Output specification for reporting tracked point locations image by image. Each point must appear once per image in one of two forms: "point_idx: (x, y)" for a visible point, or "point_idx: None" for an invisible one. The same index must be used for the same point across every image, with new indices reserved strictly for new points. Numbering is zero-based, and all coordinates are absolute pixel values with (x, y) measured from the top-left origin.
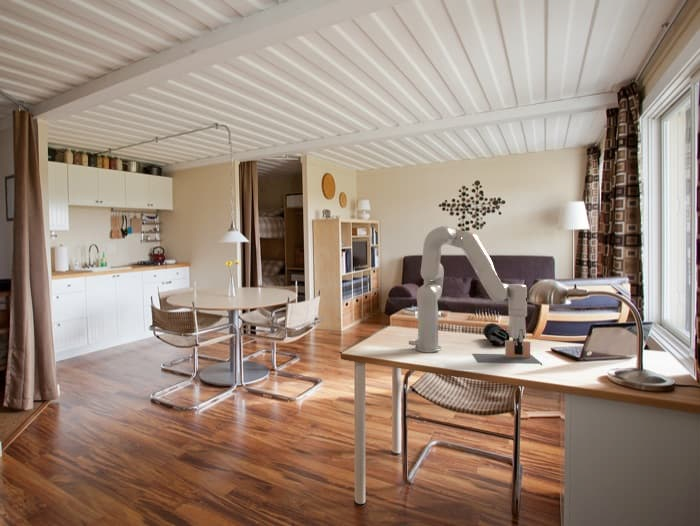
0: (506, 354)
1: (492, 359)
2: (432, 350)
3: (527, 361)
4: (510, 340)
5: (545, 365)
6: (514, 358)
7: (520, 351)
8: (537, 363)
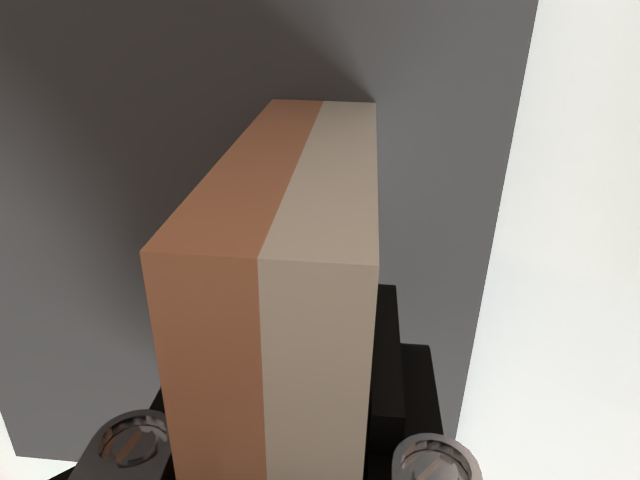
0: (266, 111)
1: None
2: None
3: (66, 342)
4: (350, 441)
5: (17, 464)
6: None
7: None
8: (6, 417)
